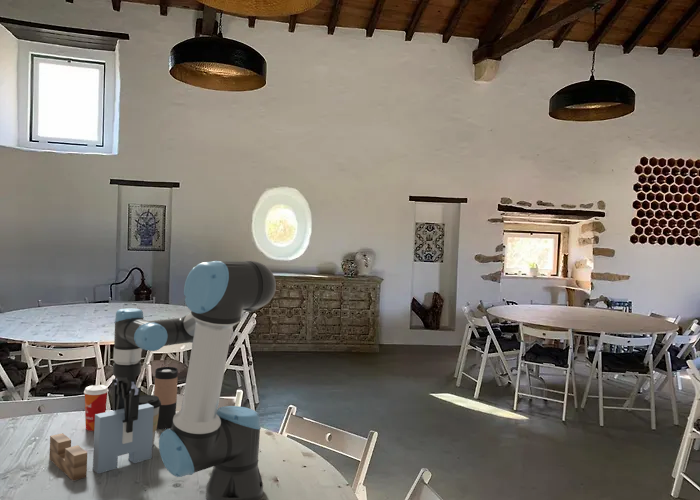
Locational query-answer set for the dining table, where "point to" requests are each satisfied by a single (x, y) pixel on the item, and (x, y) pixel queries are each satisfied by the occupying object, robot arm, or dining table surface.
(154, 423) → the coffee cup
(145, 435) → the light blue slab
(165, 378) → the travel mug
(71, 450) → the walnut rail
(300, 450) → the dining table surface
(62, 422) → the dining table surface
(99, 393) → the paper cup
